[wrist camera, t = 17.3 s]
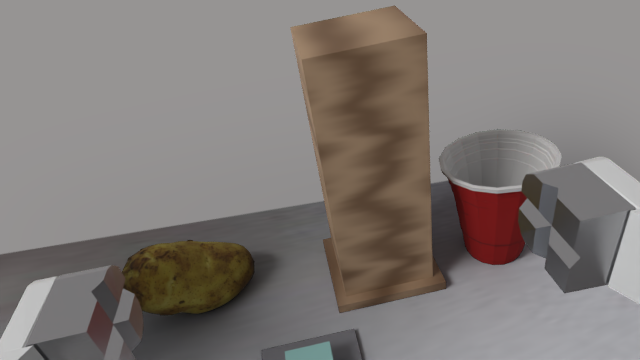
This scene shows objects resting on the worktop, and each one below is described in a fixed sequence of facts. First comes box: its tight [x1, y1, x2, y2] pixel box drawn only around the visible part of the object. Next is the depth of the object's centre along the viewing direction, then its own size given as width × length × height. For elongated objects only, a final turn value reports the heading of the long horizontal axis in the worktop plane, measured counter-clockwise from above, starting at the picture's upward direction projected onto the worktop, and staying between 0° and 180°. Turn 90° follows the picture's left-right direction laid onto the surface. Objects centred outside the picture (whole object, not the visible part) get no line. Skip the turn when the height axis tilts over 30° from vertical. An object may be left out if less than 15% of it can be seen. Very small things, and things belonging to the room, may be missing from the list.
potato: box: [122, 240, 254, 315], centre depth 48 cm, size 8×13×8 cm, turn 94°
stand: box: [291, 6, 446, 313], centre depth 43 cm, size 11×10×26 cm
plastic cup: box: [439, 129, 562, 265], centre depth 47 cm, size 11×11×12 cm
